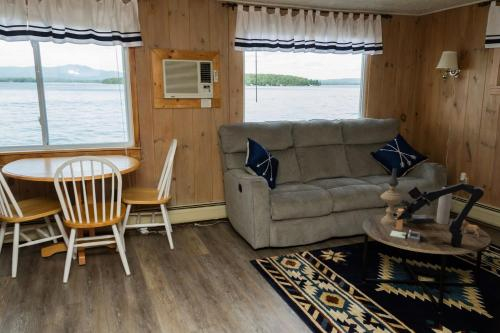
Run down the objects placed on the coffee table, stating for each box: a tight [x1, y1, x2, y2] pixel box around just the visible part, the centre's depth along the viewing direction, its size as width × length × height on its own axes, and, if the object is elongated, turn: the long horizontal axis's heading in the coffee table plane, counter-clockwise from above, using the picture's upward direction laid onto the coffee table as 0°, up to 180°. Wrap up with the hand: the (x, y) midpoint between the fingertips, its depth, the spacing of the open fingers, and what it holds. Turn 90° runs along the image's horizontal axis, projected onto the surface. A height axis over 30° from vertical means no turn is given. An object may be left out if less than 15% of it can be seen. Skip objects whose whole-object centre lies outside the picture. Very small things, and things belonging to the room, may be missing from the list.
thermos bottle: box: [435, 184, 453, 226], centre depth 274 cm, size 8×8×28 cm
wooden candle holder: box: [380, 167, 403, 227], centre depth 269 cm, size 15×15×40 cm
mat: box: [389, 230, 407, 240], centre depth 250 cm, size 9×10×1 cm
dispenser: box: [406, 229, 421, 243], centre depth 245 cm, size 7×13×3 cm, turn 153°
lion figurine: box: [461, 219, 483, 238], centre depth 255 cm, size 15×5×9 cm, turn 51°
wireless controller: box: [405, 199, 435, 224], centre depth 278 cm, size 20×14×17 cm
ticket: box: [395, 208, 404, 231], centre depth 248 cm, size 4×6×12 cm, turn 153°
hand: (397, 218), depth 248 cm, fingers closed on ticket, 5 cm apart
